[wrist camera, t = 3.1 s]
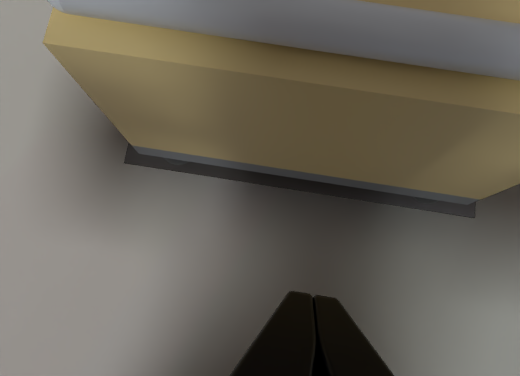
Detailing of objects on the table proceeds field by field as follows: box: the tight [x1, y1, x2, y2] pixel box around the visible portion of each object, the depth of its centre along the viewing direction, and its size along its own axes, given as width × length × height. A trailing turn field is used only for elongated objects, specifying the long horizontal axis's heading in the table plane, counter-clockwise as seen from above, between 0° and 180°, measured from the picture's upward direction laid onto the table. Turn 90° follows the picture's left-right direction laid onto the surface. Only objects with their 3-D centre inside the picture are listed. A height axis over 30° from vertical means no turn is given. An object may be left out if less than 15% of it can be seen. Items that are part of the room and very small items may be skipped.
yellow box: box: [43, 0, 520, 205], centre depth 14 cm, size 10×12×10 cm
